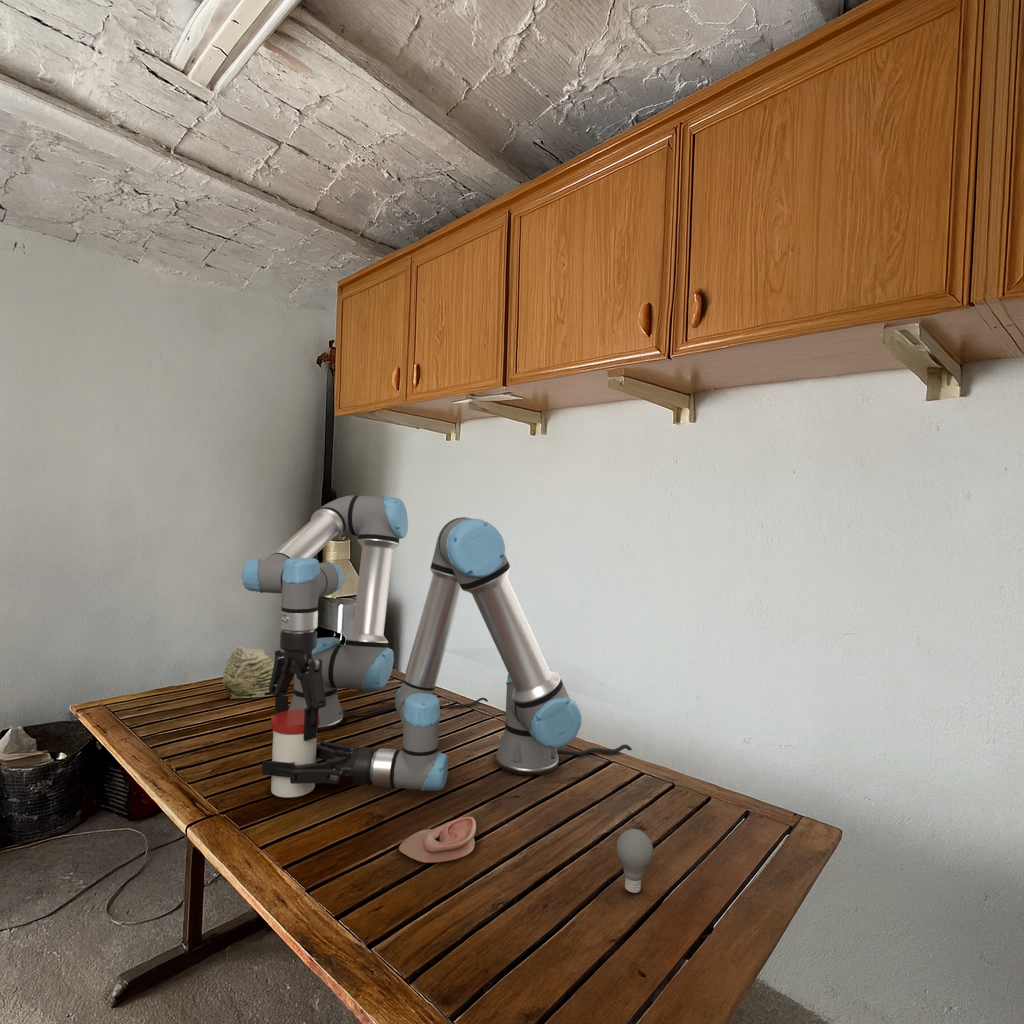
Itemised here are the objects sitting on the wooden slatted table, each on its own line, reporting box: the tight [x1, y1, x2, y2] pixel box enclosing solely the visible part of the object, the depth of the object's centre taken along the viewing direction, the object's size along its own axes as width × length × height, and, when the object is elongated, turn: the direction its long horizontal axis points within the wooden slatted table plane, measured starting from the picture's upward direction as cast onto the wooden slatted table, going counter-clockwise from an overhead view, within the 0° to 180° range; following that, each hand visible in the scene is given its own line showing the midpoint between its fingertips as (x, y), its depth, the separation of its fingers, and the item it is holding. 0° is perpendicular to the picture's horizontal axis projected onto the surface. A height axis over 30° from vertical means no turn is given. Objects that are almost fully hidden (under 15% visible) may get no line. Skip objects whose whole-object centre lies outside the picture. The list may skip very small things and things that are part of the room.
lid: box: [270, 709, 320, 734], centre depth 137 cm, size 10×10×2 cm
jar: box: [270, 730, 318, 799], centre depth 137 cm, size 9×9×15 cm
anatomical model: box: [398, 816, 477, 864], centre depth 116 cm, size 13×4×12 cm
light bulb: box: [615, 828, 654, 894], centre depth 106 cm, size 6×6×10 cm
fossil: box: [222, 646, 277, 699], centre depth 198 cm, size 9×18×15 cm, turn 132°
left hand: (295, 732), depth 137 cm, fingers closed on lid, 10 cm apart
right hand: (274, 758), depth 138 cm, fingers closed on jar, 9 cm apart
